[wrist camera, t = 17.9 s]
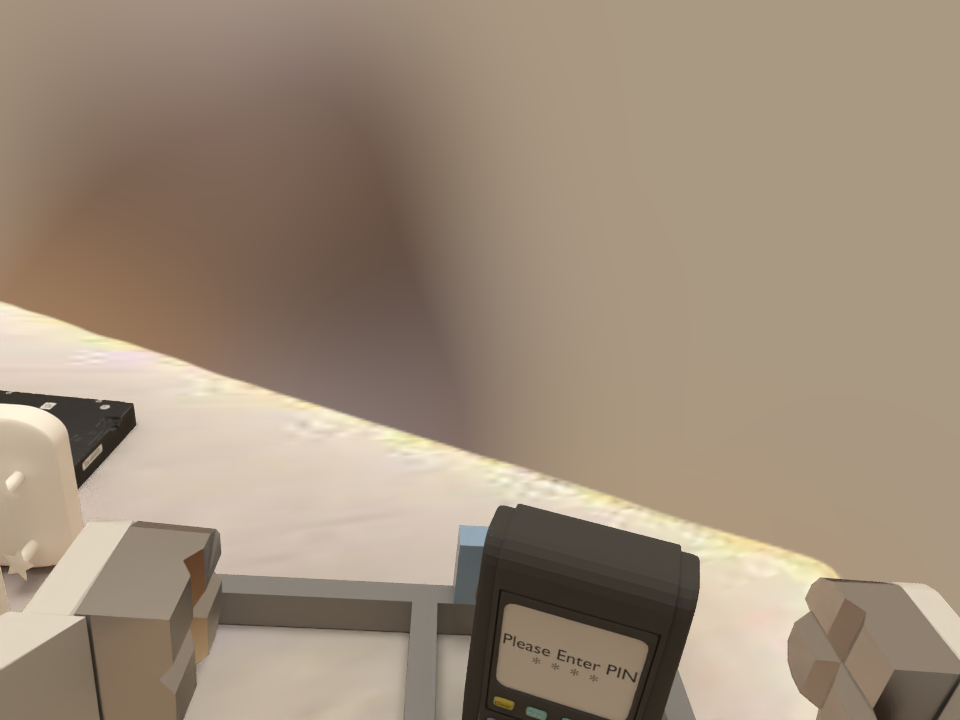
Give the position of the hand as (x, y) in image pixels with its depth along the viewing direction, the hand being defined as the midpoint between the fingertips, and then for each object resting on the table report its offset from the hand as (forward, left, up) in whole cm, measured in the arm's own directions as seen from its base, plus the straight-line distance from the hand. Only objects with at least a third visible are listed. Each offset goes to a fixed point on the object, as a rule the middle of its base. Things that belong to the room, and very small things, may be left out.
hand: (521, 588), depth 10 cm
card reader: (+6, +16, -27) cm, 32 cm away
